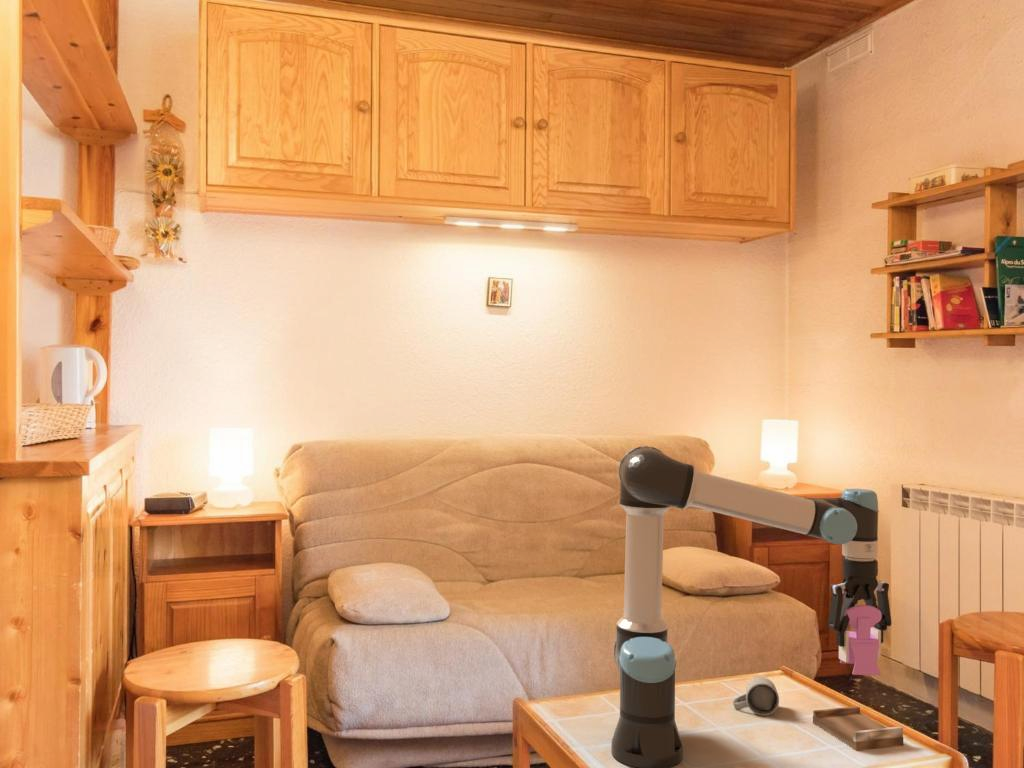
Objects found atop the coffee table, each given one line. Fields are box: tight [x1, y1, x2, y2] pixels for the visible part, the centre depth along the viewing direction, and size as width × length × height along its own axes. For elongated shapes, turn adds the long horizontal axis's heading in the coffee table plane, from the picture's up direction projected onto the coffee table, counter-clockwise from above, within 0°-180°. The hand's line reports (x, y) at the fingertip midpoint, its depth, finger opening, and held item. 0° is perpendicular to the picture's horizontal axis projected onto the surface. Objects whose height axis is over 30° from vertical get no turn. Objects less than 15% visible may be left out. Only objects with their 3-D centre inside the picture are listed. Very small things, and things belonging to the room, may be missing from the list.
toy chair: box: [839, 604, 882, 676], centre depth 198 cm, size 8×9×15 cm
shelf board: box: [812, 705, 904, 752], centre depth 199 cm, size 12×16×4 cm
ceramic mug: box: [732, 676, 780, 716], centre depth 214 cm, size 11×8×8 cm
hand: (859, 658), depth 198 cm, fingers closed on toy chair, 7 cm apart
